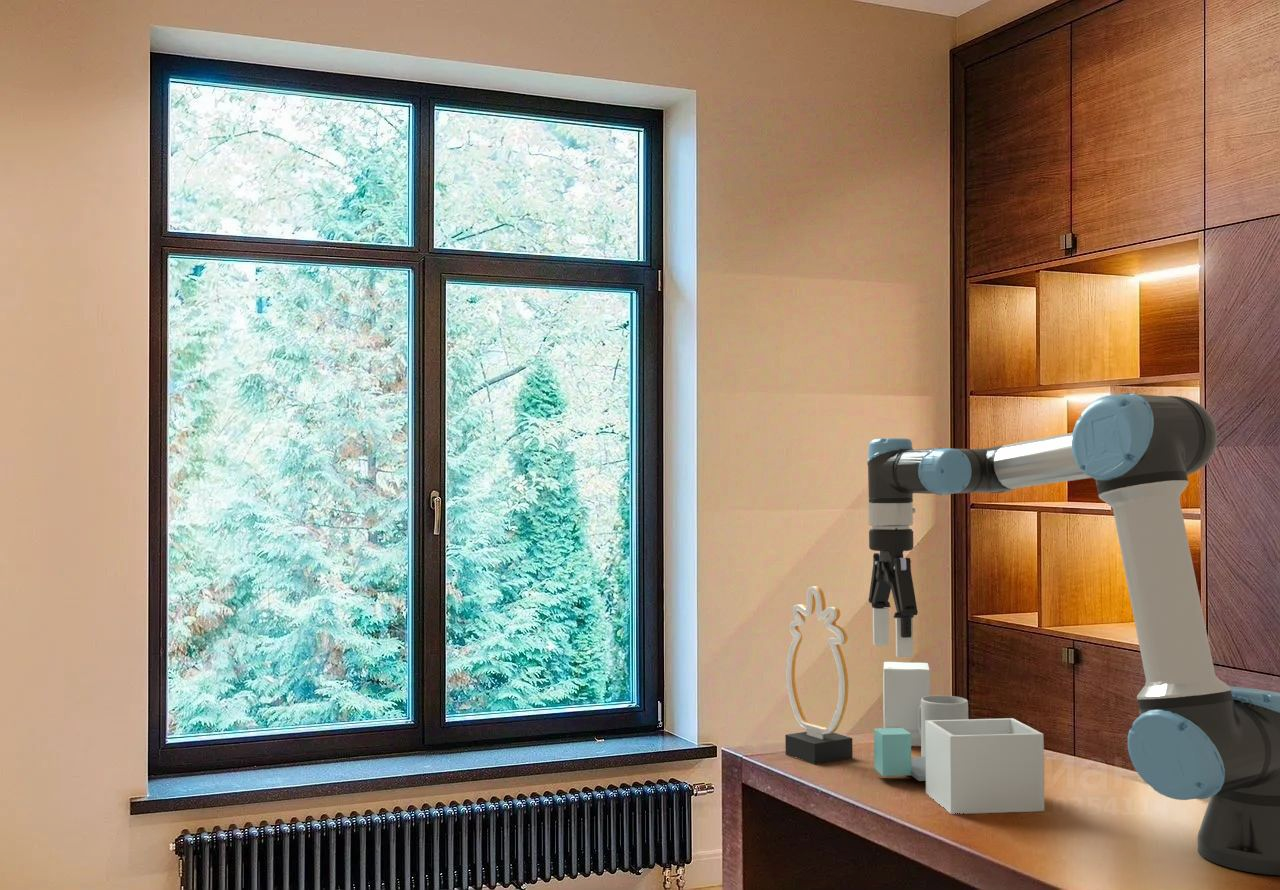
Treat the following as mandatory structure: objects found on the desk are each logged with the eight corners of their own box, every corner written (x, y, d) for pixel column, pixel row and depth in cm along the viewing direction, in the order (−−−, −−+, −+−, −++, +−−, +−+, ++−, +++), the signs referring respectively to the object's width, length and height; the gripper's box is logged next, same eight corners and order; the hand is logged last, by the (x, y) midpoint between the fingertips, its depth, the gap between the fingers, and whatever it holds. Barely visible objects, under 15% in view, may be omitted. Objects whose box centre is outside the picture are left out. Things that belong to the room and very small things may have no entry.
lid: (1009, 786, 204) (1008, 736, 205) (889, 790, 203) (888, 739, 203) (981, 768, 217) (980, 720, 217) (868, 771, 215) (868, 723, 215)
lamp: (867, 762, 221) (865, 588, 222) (828, 769, 217) (827, 591, 217) (809, 744, 236) (808, 581, 236) (772, 750, 231) (771, 583, 232)
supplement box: (931, 748, 233) (930, 669, 233) (883, 746, 234) (882, 668, 235) (929, 737, 242) (929, 662, 242) (883, 735, 243) (883, 660, 244)
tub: (1044, 811, 190) (1043, 734, 190) (950, 814, 188) (950, 736, 189) (1013, 790, 202) (1013, 718, 202) (925, 793, 200) (925, 720, 201)
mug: (978, 762, 221) (978, 701, 222) (940, 766, 218) (939, 705, 218) (938, 748, 232) (937, 690, 233) (900, 752, 229) (900, 694, 229)
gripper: (936, 530, 198) (937, 661, 197) (890, 524, 223) (892, 640, 222) (891, 531, 197) (892, 662, 197) (850, 524, 222) (852, 641, 221)
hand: (892, 651), depth 209 cm, fingers open, 13 cm apart
